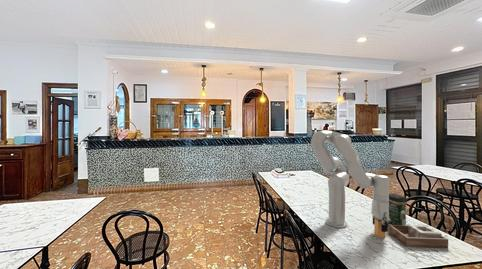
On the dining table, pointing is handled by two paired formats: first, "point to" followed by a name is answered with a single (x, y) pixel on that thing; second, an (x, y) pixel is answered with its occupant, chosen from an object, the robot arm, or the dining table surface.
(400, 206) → the coffee jar
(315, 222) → the dining table surface
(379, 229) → the connector
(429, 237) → the walled box
